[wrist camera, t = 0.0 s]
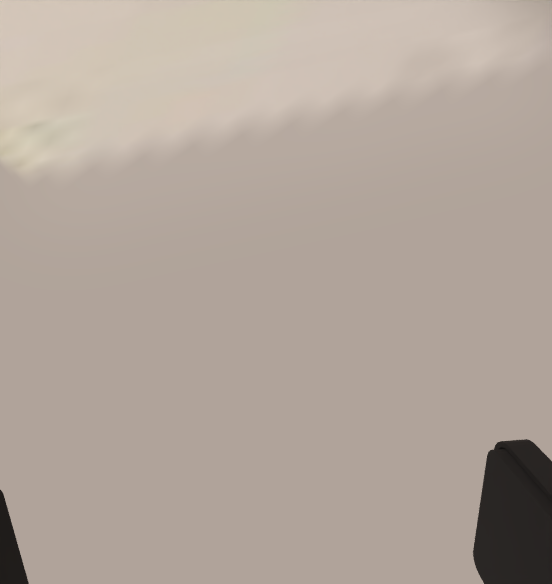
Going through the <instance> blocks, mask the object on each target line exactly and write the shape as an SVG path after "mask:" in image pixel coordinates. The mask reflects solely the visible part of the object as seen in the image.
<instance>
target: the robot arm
mask: <svg viewBox="0 0 552 584" xmlns="http://www.w3.org/2000/svg"><path fill="white" fill-rule="evenodd" d="M473 556H474V562H475V565H476V568H477V571H478V573H479V575H480V577H481V579H482V580H483V582H484V584H552V461H551V460H550V459H549V458H548V457H547V456H546V455H545V454H544V453H543V452H542V451H541V450H540V449H539V448H538V447H537V446H536V445H535V444H534V443H533V442H531V441H530V440H527V439H526V440H513V441H501V442H498V443H497V444H496V445H495V448H494V450H490V451H489V452H488V455H487V461H486V468H485V475H484V482H483V488H482V495H481V502H480V509H479V516H478V522H477V529H476V536H475V543H474V550H473ZM0 584H28V580H27V576H26V573H25V569H24V566H23V562H22V558H21V555H20V551H19V548H18V544H17V541H16V538H15V534H14V530H13V526H12V523H11V519H10V516H9V512H8V509H7V505H6V502H5V498H4V495H3V493H2V491H1V490H0Z"/></svg>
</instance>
